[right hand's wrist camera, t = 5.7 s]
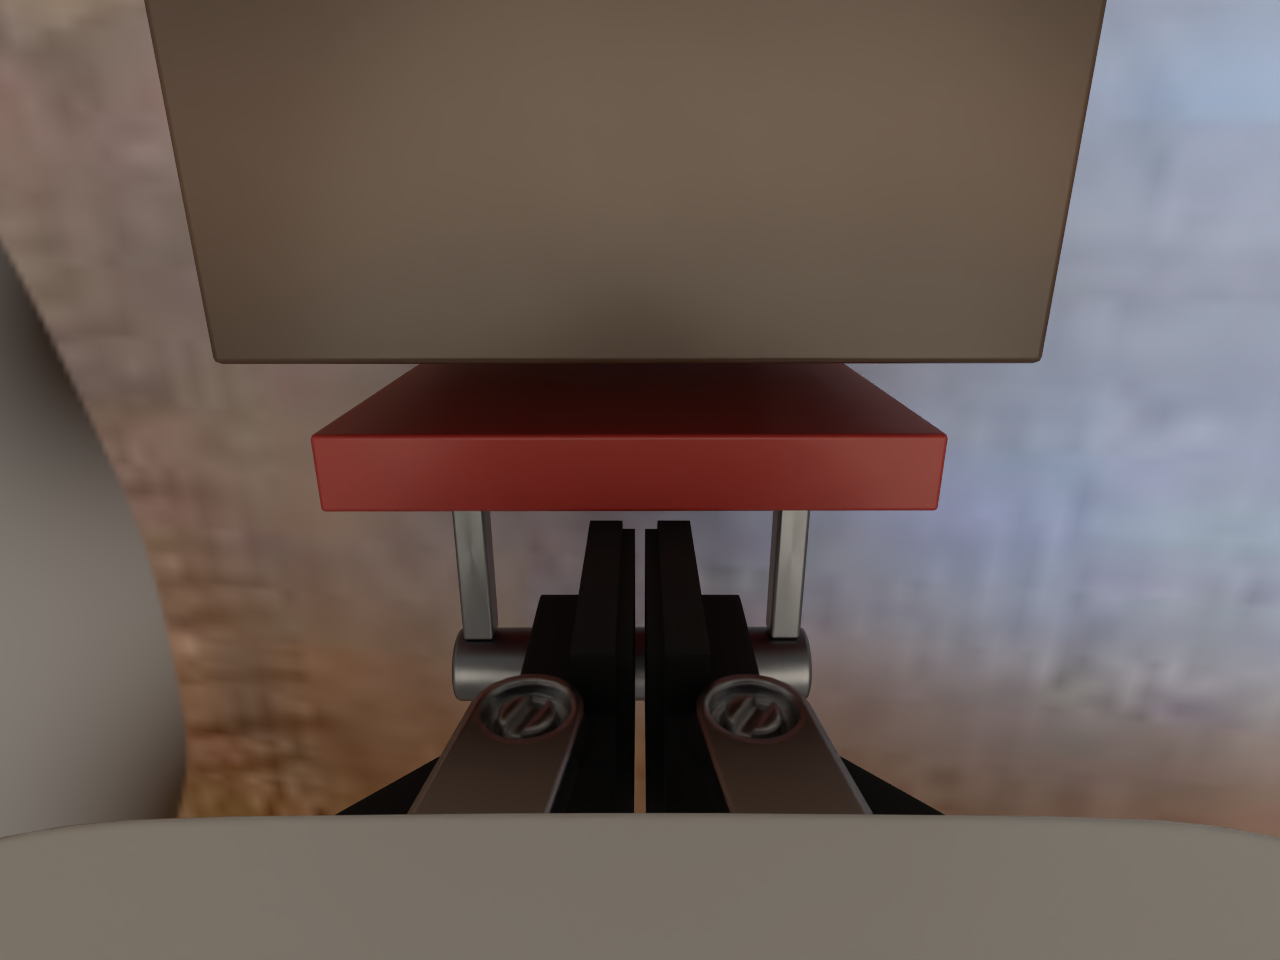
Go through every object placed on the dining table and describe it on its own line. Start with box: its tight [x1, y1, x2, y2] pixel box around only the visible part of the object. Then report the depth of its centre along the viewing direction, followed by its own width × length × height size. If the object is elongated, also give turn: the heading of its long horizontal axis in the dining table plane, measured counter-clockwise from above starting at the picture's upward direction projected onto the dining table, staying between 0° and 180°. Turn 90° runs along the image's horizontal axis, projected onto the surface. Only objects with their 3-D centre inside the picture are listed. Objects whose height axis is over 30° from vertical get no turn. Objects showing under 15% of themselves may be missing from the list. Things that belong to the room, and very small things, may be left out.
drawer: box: [311, 363, 947, 701], centre depth 13 cm, size 24×9×9 cm, turn 0°
